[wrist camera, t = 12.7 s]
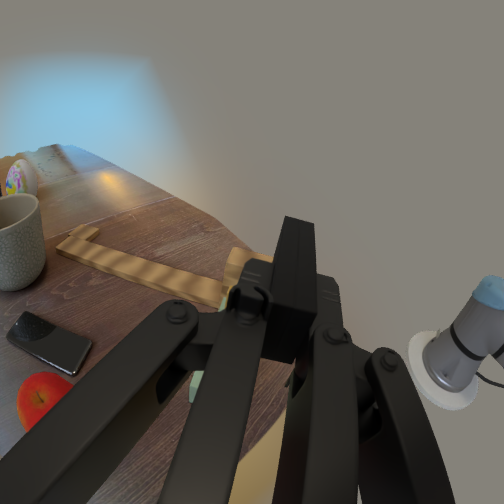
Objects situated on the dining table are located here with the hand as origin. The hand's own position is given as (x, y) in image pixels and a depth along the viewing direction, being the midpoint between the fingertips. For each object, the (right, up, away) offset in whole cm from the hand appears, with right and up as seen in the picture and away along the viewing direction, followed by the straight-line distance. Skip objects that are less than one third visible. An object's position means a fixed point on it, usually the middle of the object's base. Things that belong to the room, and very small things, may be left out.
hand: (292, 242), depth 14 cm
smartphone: (-35, -15, +19) cm, 43 cm away
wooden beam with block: (-24, -4, +41) cm, 48 cm away
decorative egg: (-78, +16, +53) cm, 96 cm away
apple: (-25, -24, +10) cm, 36 cm away
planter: (-52, -6, +29) cm, 60 cm away
